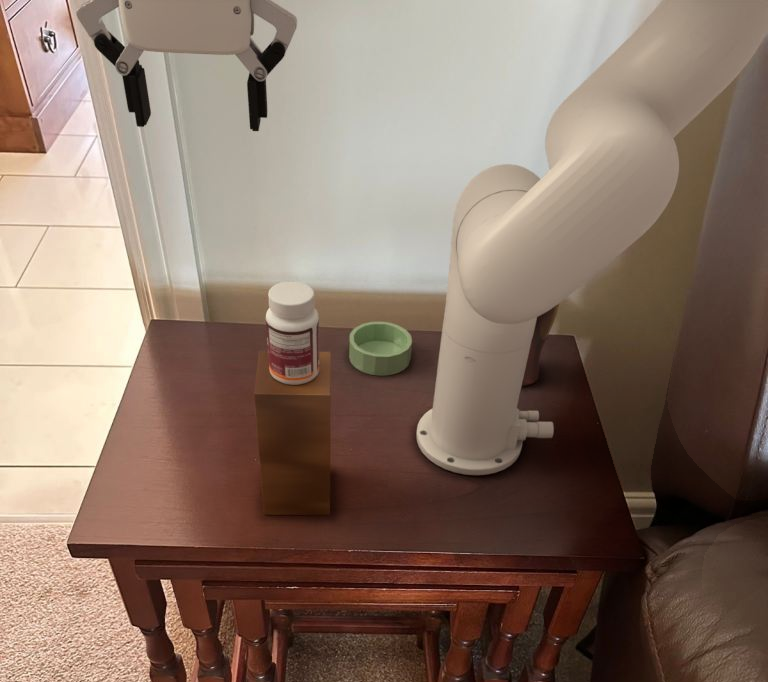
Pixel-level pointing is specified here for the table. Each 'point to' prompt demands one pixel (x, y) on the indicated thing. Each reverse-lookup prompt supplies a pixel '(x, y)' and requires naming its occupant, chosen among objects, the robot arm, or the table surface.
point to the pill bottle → (292, 333)
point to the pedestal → (294, 440)
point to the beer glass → (538, 345)
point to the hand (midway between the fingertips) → (200, 123)
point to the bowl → (380, 348)
